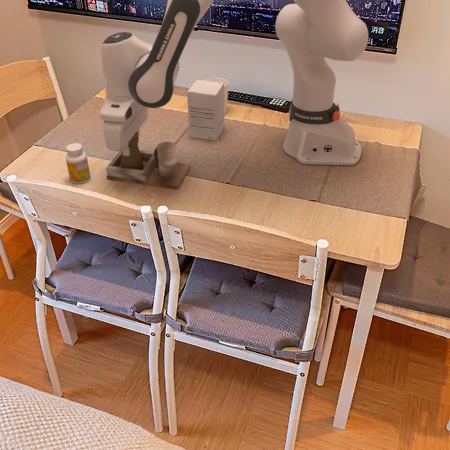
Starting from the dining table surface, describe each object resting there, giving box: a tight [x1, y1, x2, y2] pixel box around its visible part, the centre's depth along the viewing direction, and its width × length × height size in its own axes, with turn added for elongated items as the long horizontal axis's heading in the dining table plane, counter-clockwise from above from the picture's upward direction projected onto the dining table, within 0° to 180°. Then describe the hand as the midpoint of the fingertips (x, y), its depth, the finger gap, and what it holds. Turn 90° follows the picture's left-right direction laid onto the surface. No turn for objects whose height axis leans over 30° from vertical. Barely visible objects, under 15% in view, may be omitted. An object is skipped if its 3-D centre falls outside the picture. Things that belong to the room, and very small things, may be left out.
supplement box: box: [186, 79, 225, 142], centre depth 157 cm, size 9×9×15 cm
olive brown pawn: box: [121, 132, 144, 170], centre depth 140 cm, size 6×6×11 cm
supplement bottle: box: [65, 142, 91, 185], centre depth 138 cm, size 5×5×10 cm
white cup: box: [204, 77, 229, 115], centre depth 170 cm, size 8×8×10 cm
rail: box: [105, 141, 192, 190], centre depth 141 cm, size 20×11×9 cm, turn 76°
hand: (131, 149), depth 140 cm, fingers open, 4 cm apart
